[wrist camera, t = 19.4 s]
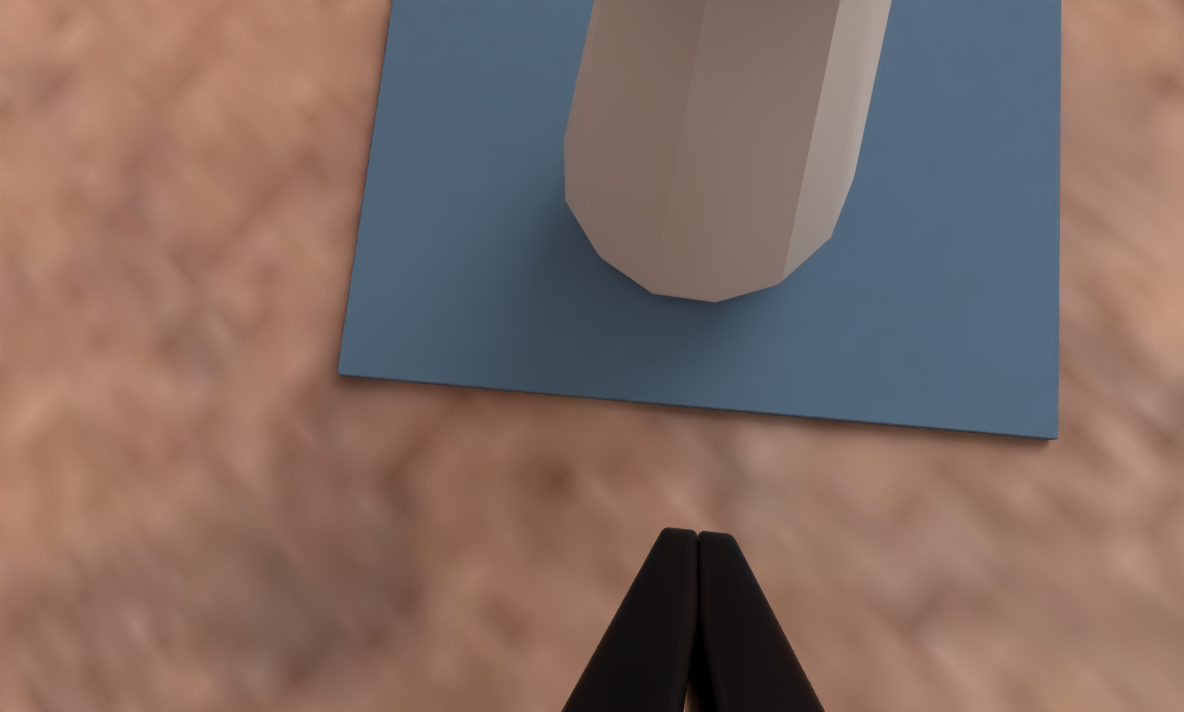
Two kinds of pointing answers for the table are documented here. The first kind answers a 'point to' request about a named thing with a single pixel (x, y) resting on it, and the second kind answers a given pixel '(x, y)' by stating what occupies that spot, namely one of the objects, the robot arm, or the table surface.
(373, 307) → the slate mat
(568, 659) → the table surface
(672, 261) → the salt shaker
